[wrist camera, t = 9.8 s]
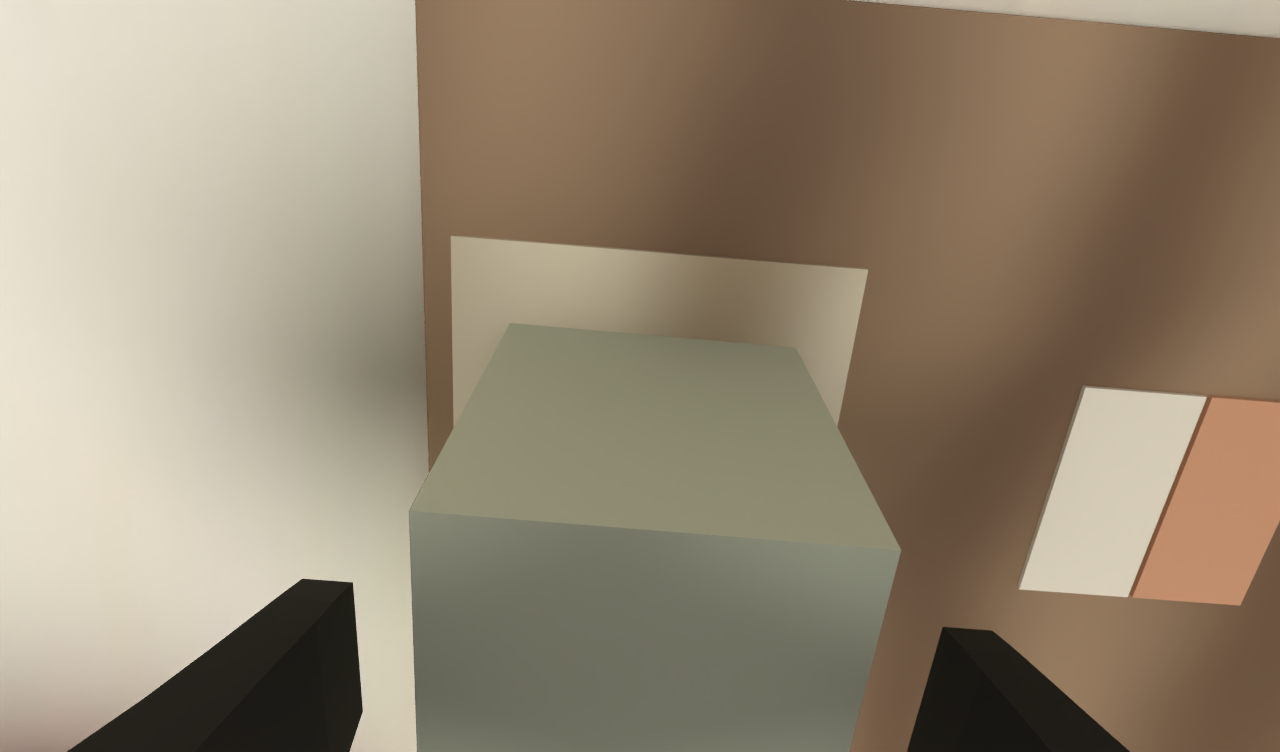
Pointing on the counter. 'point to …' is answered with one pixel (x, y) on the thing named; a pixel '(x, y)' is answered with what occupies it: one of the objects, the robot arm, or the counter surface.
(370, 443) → the counter surface
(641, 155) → the walnut board
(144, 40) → the counter surface
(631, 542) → the sage block
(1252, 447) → the tiles
